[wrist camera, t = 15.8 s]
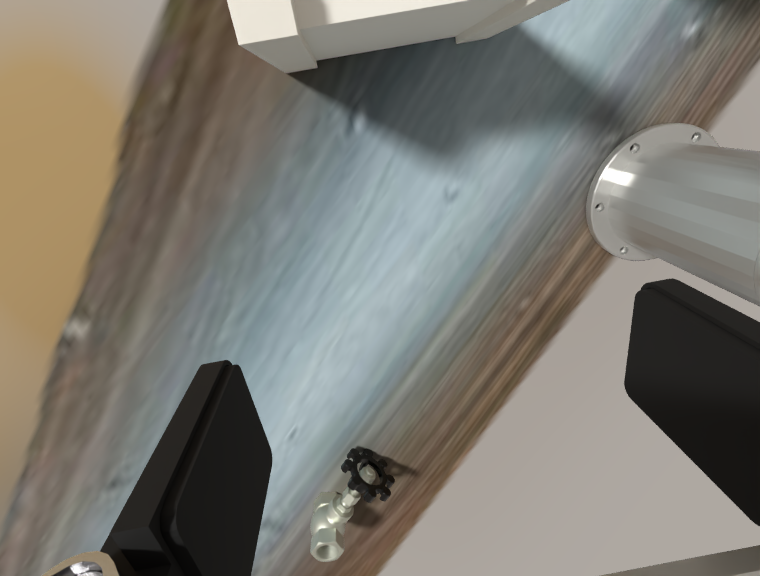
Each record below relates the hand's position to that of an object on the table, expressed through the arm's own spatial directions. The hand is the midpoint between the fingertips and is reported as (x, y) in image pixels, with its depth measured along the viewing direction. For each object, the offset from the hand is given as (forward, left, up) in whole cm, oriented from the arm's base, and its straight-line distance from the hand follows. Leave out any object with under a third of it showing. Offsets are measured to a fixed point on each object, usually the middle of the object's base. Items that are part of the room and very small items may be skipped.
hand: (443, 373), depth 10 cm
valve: (+9, +36, -29) cm, 47 cm away
